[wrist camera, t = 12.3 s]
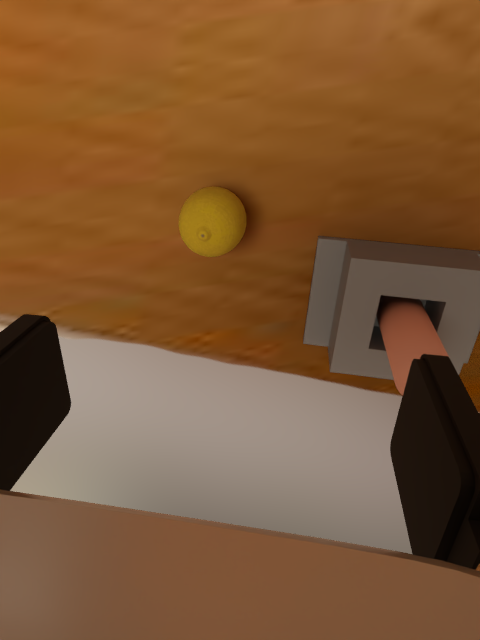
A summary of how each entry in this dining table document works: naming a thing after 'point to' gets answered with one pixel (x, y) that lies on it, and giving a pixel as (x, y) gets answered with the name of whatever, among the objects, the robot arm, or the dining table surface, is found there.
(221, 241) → the lemon
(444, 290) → the socket
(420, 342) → the peg
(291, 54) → the dining table surface
